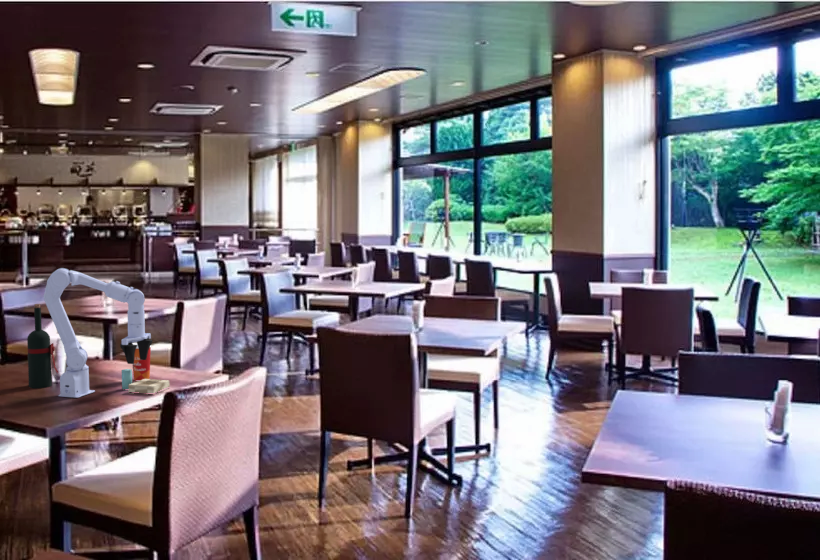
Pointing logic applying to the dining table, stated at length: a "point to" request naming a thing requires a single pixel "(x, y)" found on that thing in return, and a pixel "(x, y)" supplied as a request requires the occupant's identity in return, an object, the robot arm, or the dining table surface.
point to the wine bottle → (39, 354)
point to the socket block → (148, 386)
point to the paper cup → (141, 365)
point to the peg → (126, 378)
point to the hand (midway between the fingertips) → (136, 361)
